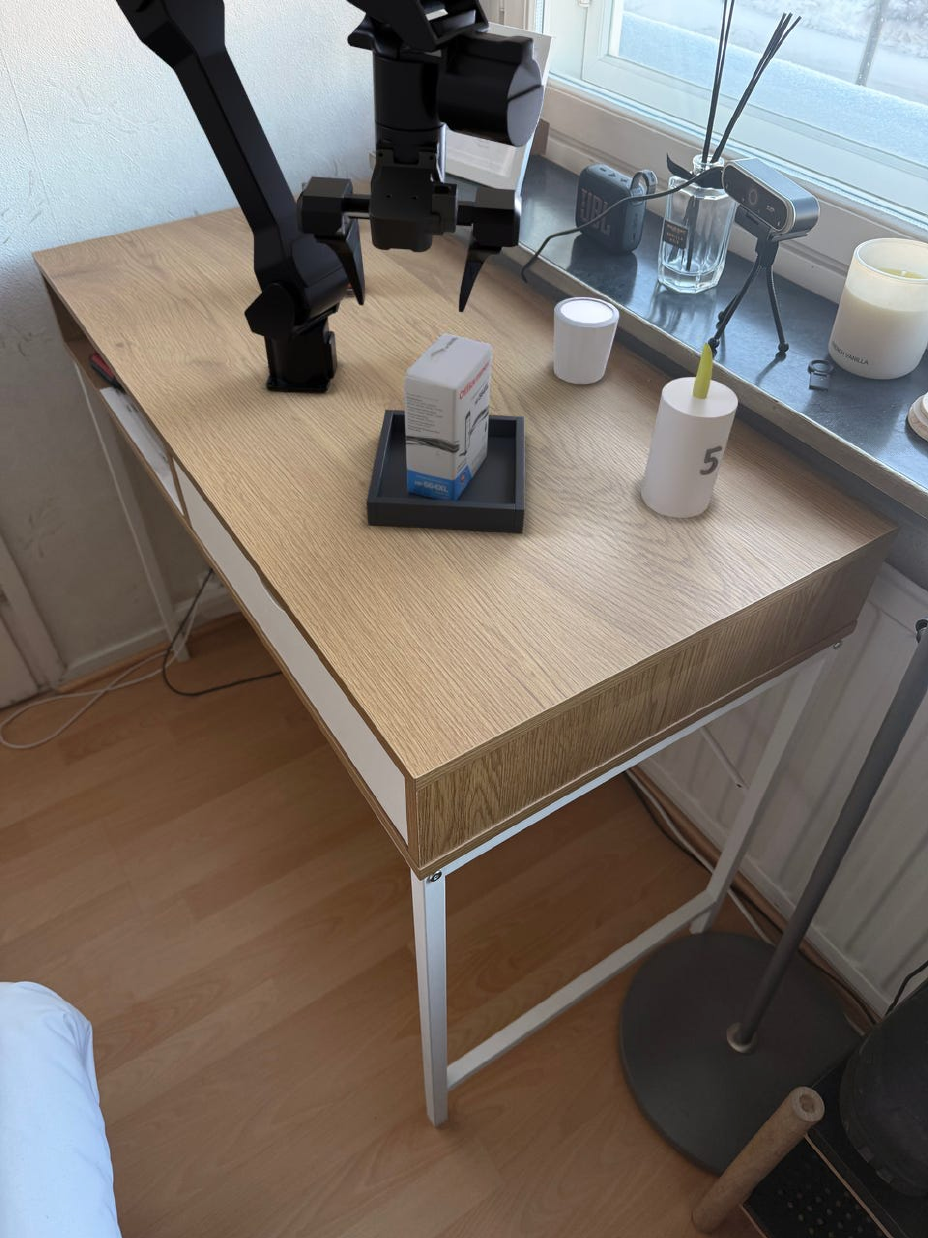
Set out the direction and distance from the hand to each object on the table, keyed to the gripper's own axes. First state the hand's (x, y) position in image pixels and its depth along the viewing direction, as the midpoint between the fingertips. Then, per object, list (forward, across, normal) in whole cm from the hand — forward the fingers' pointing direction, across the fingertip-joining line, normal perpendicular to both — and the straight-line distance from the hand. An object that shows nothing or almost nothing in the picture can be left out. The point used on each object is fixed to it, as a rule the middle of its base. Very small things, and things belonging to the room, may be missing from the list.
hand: (411, 306), depth 80 cm
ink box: (+11, +4, -10) cm, 16 cm away
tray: (+12, +5, -10) cm, 16 cm away
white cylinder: (+12, +17, +11) cm, 24 cm away
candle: (+12, +26, -11) cm, 30 cm away
